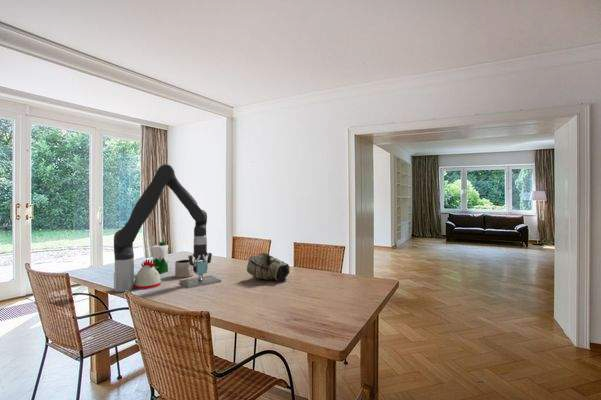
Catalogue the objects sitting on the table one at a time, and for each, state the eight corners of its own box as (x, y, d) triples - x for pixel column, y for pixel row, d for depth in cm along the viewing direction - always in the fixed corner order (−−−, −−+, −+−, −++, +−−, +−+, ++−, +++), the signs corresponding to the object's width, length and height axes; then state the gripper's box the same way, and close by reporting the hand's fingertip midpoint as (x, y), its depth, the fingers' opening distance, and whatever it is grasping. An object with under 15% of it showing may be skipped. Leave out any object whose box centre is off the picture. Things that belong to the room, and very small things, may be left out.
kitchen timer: (149, 289, 173) (149, 262, 172) (128, 288, 175) (128, 261, 175) (165, 283, 186) (165, 257, 186) (145, 281, 189) (145, 256, 189)
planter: (181, 279, 195) (181, 263, 195) (171, 276, 201) (171, 261, 201) (196, 275, 203) (196, 260, 203) (186, 273, 210) (186, 258, 210)
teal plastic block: (194, 272, 188) (193, 261, 188) (203, 271, 192) (202, 260, 192) (197, 274, 184) (197, 263, 184) (206, 273, 187) (206, 262, 187)
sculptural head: (296, 258, 198) (267, 249, 213) (275, 256, 181) (245, 247, 196) (290, 285, 197) (262, 274, 212) (269, 286, 180) (239, 274, 195)
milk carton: (170, 271, 215) (170, 242, 215) (160, 274, 206) (160, 244, 206) (159, 270, 217) (159, 241, 217) (149, 273, 209) (149, 243, 209)
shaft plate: (188, 288, 176) (188, 277, 176) (179, 282, 187) (179, 273, 187) (221, 281, 189) (221, 272, 189) (211, 277, 200) (211, 268, 199)
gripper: (208, 241, 195) (209, 268, 195) (185, 243, 186) (186, 272, 186) (214, 242, 189) (214, 270, 190) (190, 245, 180) (190, 274, 180)
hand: (200, 271), depth 188 cm, fingers closed on teal plastic block, 5 cm apart
